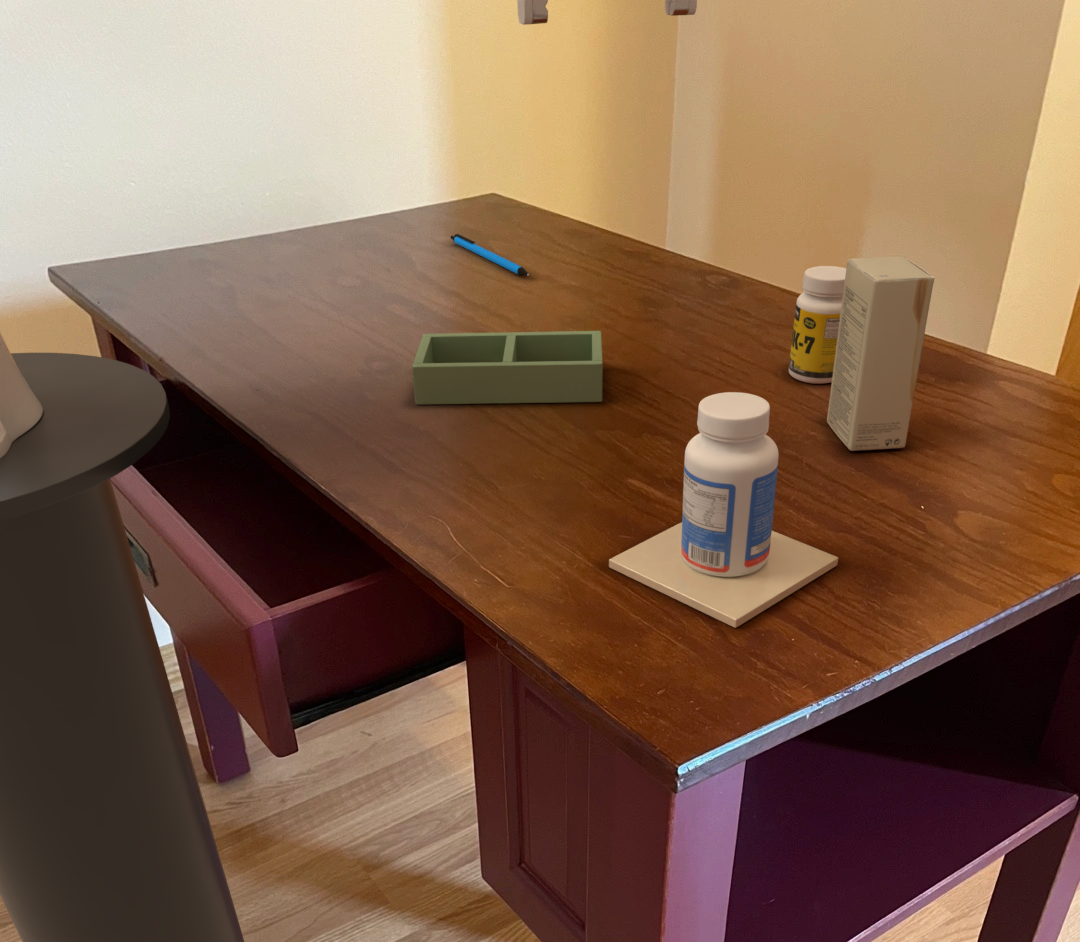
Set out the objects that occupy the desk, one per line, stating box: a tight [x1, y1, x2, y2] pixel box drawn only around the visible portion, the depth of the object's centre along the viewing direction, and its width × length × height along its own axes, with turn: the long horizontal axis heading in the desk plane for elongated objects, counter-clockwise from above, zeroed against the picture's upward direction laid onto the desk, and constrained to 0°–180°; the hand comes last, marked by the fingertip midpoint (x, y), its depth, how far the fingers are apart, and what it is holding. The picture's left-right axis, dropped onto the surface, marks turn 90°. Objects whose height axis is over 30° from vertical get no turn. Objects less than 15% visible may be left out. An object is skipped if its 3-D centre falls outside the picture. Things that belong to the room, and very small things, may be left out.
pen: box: [450, 233, 530, 277], centre depth 123 cm, size 1×19×1 cm, turn 29°
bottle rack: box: [411, 330, 604, 406], centre depth 91 cm, size 8×15×3 cm, turn 88°
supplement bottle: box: [788, 265, 846, 385], centre depth 90 cm, size 5×5×8 cm
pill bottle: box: [681, 391, 780, 577], centre depth 64 cm, size 6×5×10 cm
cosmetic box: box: [826, 255, 935, 452], centre depth 79 cm, size 6×4×12 cm
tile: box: [608, 521, 839, 629], centre depth 67 cm, size 10×10×1 cm
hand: (607, 19), depth 67 cm, fingers open, 8 cm apart
